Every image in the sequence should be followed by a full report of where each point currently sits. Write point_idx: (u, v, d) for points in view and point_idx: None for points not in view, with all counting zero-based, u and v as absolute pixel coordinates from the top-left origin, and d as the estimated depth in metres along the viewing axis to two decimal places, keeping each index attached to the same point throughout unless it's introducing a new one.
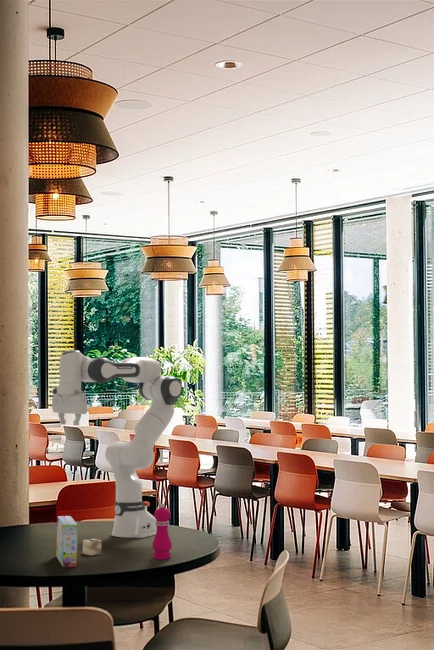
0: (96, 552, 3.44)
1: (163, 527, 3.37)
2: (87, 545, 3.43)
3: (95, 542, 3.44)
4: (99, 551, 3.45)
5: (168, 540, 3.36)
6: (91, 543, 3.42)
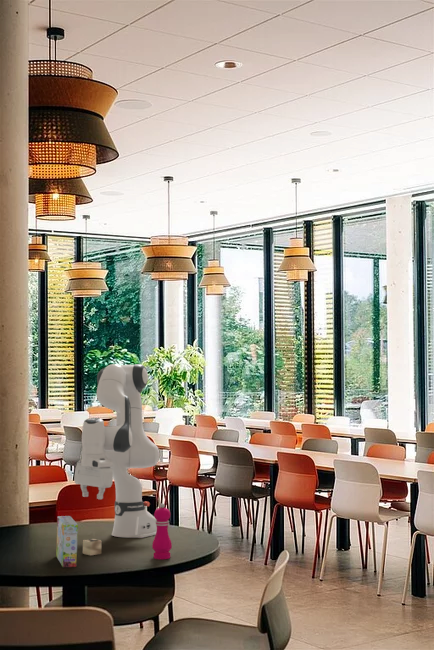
0: (96, 552, 3.44)
1: (163, 527, 3.37)
2: (87, 545, 3.43)
3: (95, 542, 3.44)
4: (99, 551, 3.45)
5: (168, 540, 3.36)
6: (91, 543, 3.42)
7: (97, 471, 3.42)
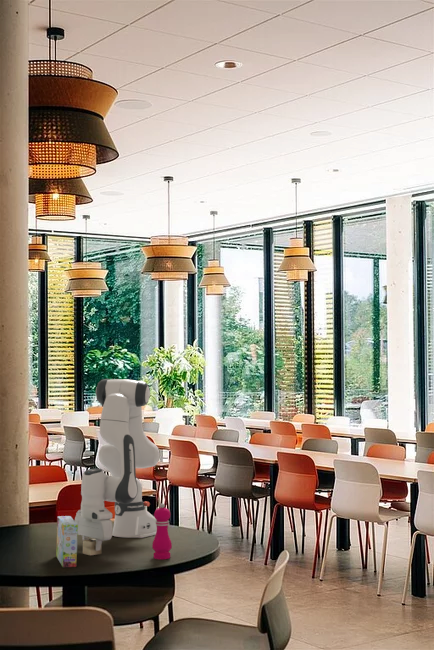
0: (96, 552, 3.44)
1: (163, 527, 3.37)
2: (87, 545, 3.43)
3: (95, 542, 3.44)
4: (99, 551, 3.45)
5: (168, 540, 3.36)
6: (91, 543, 3.42)
7: (97, 523, 3.41)
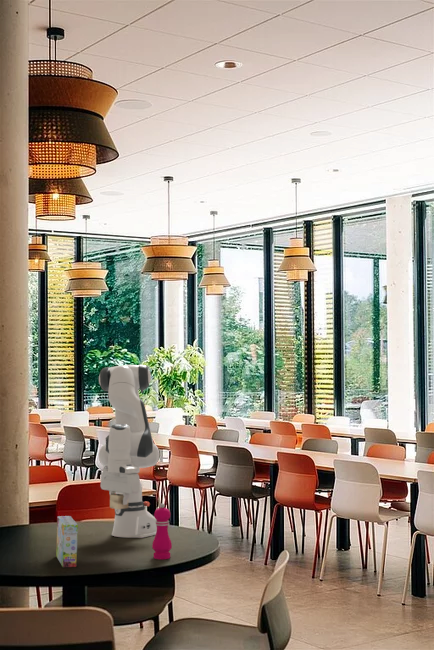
0: (123, 506, 3.46)
1: (163, 527, 3.37)
2: (114, 499, 3.45)
3: (122, 496, 3.46)
4: (126, 505, 3.47)
5: (168, 540, 3.36)
6: (118, 497, 3.44)
7: (124, 477, 3.43)
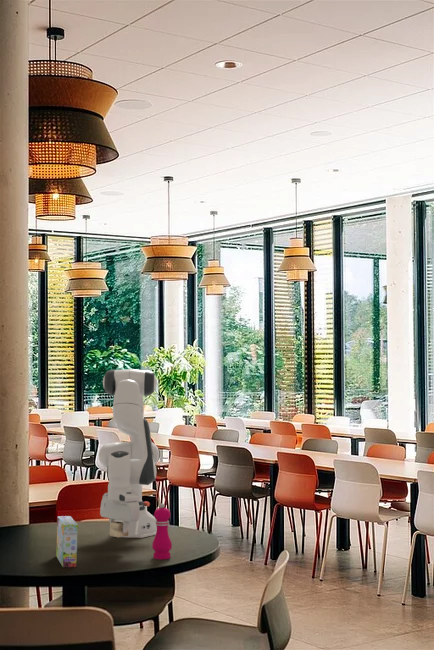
0: (123, 534, 3.45)
1: (163, 527, 3.37)
2: (114, 527, 3.44)
3: (122, 524, 3.45)
4: (126, 533, 3.46)
5: (168, 540, 3.36)
6: (118, 525, 3.43)
7: (124, 505, 3.42)
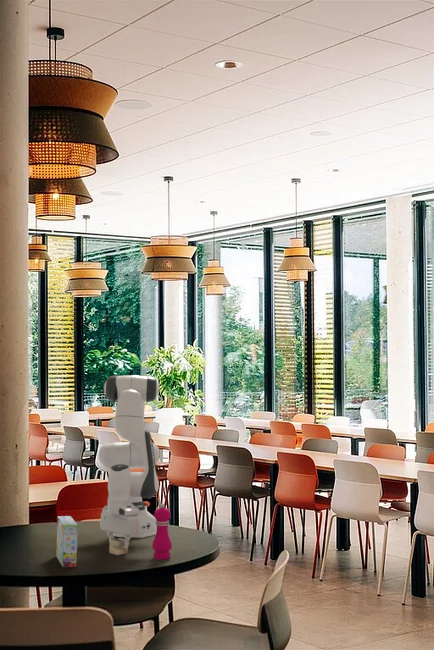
0: (122, 552, 3.45)
1: (163, 527, 3.37)
2: (114, 544, 3.44)
3: (122, 542, 3.45)
4: (126, 551, 3.46)
5: (168, 540, 3.36)
6: (118, 543, 3.43)
7: (124, 519, 3.42)
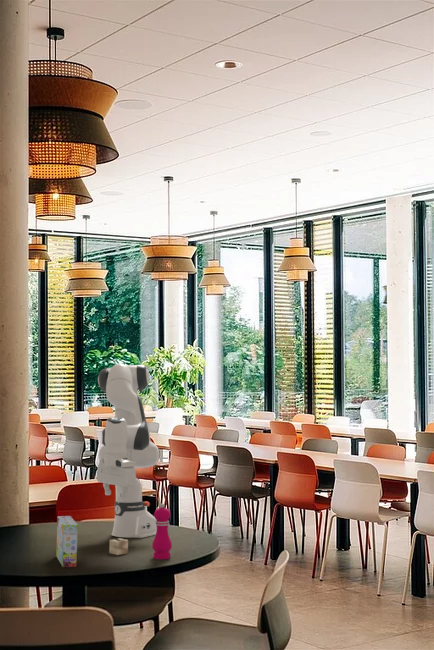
0: (122, 552, 3.45)
1: (163, 527, 3.37)
2: (114, 544, 3.44)
3: (122, 542, 3.45)
4: (126, 551, 3.46)
5: (168, 540, 3.36)
6: (118, 543, 3.43)
7: (120, 471, 3.44)
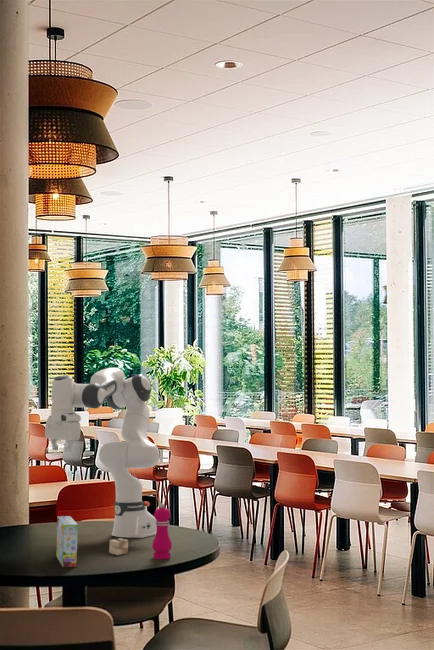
0: (122, 552, 3.45)
1: (163, 527, 3.37)
2: (114, 544, 3.44)
3: (122, 542, 3.45)
4: (126, 551, 3.46)
5: (168, 540, 3.36)
6: (118, 543, 3.43)
7: (66, 425, 3.59)
